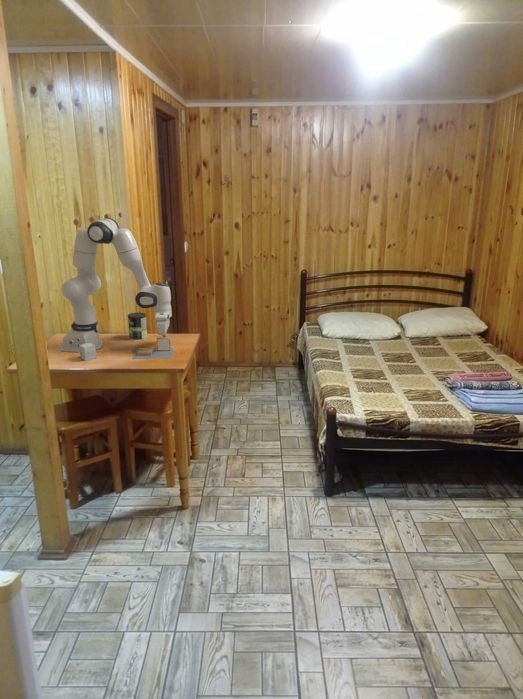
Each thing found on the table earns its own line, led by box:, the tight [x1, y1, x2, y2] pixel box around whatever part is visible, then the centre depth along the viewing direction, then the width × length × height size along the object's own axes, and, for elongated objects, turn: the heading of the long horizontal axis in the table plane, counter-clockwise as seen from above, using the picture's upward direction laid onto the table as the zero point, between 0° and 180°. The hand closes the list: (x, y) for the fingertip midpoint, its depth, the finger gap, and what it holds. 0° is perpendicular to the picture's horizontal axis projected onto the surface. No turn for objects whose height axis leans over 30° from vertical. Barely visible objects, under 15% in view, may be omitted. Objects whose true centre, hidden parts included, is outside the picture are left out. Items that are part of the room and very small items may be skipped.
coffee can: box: [127, 312, 148, 341], centre depth 283 cm, size 10×10×14 cm
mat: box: [131, 348, 176, 360], centre depth 259 cm, size 20×16×1 cm
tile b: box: [156, 337, 172, 351], centre depth 263 cm, size 7×2×7 cm, turn 92°
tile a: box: [138, 347, 154, 355], centre depth 259 cm, size 7×2×7 cm
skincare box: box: [79, 343, 97, 362], centre depth 251 cm, size 6×6×7 cm
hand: (164, 338), depth 266 cm, fingers closed
